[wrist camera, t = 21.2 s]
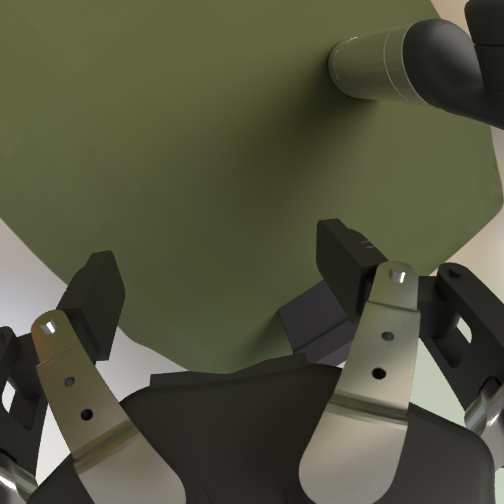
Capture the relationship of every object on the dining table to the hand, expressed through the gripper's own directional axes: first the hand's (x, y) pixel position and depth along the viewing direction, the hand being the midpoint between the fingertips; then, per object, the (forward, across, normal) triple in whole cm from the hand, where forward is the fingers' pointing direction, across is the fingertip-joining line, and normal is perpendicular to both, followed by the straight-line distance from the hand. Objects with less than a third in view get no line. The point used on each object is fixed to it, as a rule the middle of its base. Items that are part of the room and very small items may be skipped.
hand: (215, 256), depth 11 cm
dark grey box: (+30, -14, +28) cm, 44 cm away
